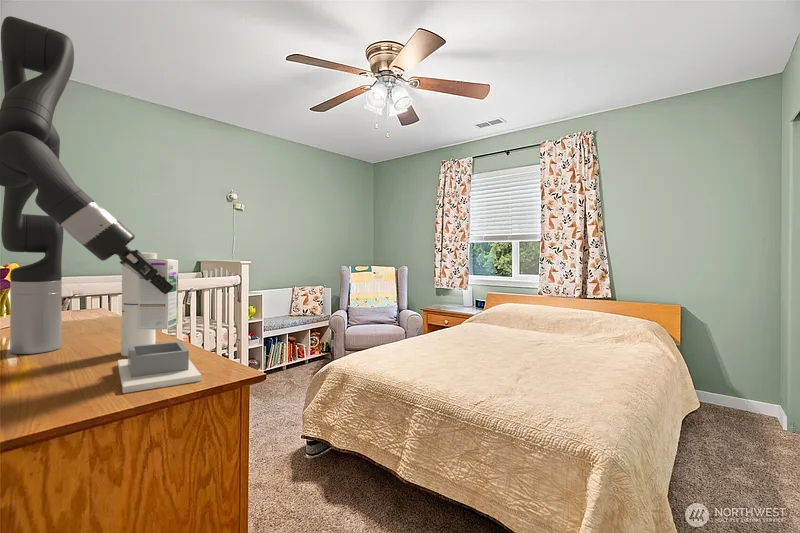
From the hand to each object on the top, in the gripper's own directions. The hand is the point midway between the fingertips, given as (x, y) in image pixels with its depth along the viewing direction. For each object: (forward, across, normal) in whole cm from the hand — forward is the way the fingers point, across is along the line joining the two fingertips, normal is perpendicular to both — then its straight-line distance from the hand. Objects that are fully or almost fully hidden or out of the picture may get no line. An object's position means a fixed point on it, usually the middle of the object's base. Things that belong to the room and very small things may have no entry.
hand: (166, 289), depth 83 cm
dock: (+12, 0, +14) cm, 18 cm away
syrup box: (+5, 0, +7) cm, 8 cm away
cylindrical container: (+10, +20, +15) cm, 27 cm away
